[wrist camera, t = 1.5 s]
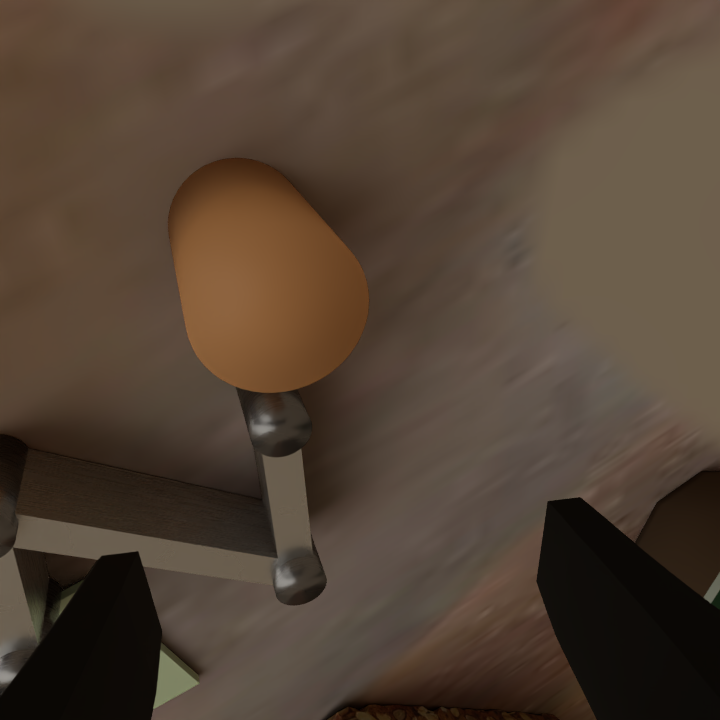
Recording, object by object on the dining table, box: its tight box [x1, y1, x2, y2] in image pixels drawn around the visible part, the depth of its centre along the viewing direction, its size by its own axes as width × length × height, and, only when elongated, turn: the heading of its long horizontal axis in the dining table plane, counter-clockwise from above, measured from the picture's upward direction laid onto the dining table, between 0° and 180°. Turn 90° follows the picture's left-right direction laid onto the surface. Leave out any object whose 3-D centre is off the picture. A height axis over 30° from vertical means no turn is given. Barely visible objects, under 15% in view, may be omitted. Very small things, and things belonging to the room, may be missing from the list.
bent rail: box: [0, 387, 327, 695], centre depth 20 cm, size 10×13×4 cm
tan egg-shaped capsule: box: [168, 158, 369, 393], centre depth 16 cm, size 4×4×6 cm
